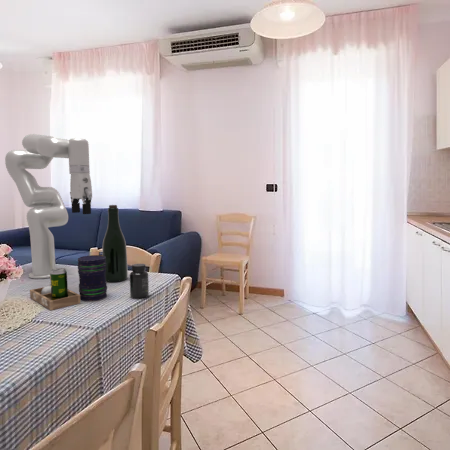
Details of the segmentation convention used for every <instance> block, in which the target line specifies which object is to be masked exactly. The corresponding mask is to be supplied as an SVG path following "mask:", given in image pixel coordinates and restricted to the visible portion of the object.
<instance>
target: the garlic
mask: <svg viewBox="0 0 450 450" xmlns="http://www.w3.org/2000/svg"><path fill="white" fill-rule="evenodd" d="M43 287H44V288H43V289H42V291H41V295H43V294H47V293H51V282H50V283H49V284H48V285H45V286H43Z"/></svg>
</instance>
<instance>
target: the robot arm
mask: <svg viewBox="0 0 450 450" xmlns="http://www.w3.org/2000/svg"><path fill="white" fill-rule="evenodd" d="M21 145H22V147H23V149H13V150H10V151H8V152H6V154H5V157H4V159H5V161H4V164H5V168H6V171H7V172H8V174H9V176H10V177H11V178H12V180H13V182H14V183H15V185H16V187H17V190H18V192H19V195H20V198H21V200H22V202H23V204H24V205H25V206H26V207H27V208H30V209H29V210H28V211H27V212H26V222H27V226H28V230H29V236H30V237H29V239H30V253H31V268H32V269H31V271H32V272H30V273H29V274H28V278H30V279H35V280H36V279H37V280H38V279H49V278H50V272H51V270H52V269H56V268H57V267H56V252H55V249H56V248H55V237H54V235H53V233H52V232H51V230H50V229H49V228H53V227H62V226H65V225H67V223H68V221H69V213H68V210H67V208H66V206H65V203H64V202H63V201H64V200H63V199H62V196H61V194H60V193H59V191H58V190H57V189H56V188H54V187H52V186H41V185H39V184H38V181H37V179H36V178H35V176H34V175H33V174H32V173H30V172H29V171H28V170H44V169H46V168H47V167H48V166H49V165H50V163H51V161H52V160H53V159H54V158H57V159H58V158H60V159H68V167H69V169H68V171H69V175H70V179H69V181H70V184H69V185H70V191H69V195H70V203H71V213H72V214H77V213H80V212H81V206H82V215H91V214H92V198H93V189H92V187H93V186H92V180H91V175H90V174H91V172H90V149H89V148H90V146H89V145H90V144H89V142H88V140H87V139H86V138H76V137H75V138H70V139H67V138H66V139H65V138H57V137H56V138H55V137H54V136H51V135H45V134H44V135H43V134H35V133H30V134H28V135H25V136H24V137H23V138H22V141H21ZM80 200H82V204H81V203H80Z"/></svg>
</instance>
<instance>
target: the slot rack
mask: <svg viewBox="0 0 450 450" xmlns="http://www.w3.org/2000/svg"><path fill="white" fill-rule="evenodd" d="M44 287H45V286H42V287H38V288H37V287H36V288H33V289H30V290H29V298H30V299H32V300H33V301H35V302H36V301H37V302H36V303H38V304H40V305H41V306H43V307H45V308H47V309H48V310H50V311H54V310H57V309H58V310H59V309H62V308H66V307H70V306H74V305H78V304H81V300H80V295H79V293H78V292H75V291H73V290H71V289H69V288H68V297H66V298H61V299H57V300H52V298H51V293H47V294H43V295H41V291H42V289H43V288H44Z"/></svg>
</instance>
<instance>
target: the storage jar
mask: <svg viewBox="0 0 450 450" xmlns="http://www.w3.org/2000/svg"><path fill="white" fill-rule="evenodd" d="M105 259H106V257H105V256H102V255H99V254H98V255H97V254H92V255H91V254H89V255H84V256H80V257H78V258H77V269H78V270H77V274H78V277H79V279H78V280H79V281H78V282H79V283H78V294H79V295H80V301H82V302H96V301H97V302H98V301H100V300H104V299H106V298H107V297H108V286H107V285H108V284H107V283H108V282H107V281H106V274H105V272H106V261H105Z"/></svg>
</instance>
